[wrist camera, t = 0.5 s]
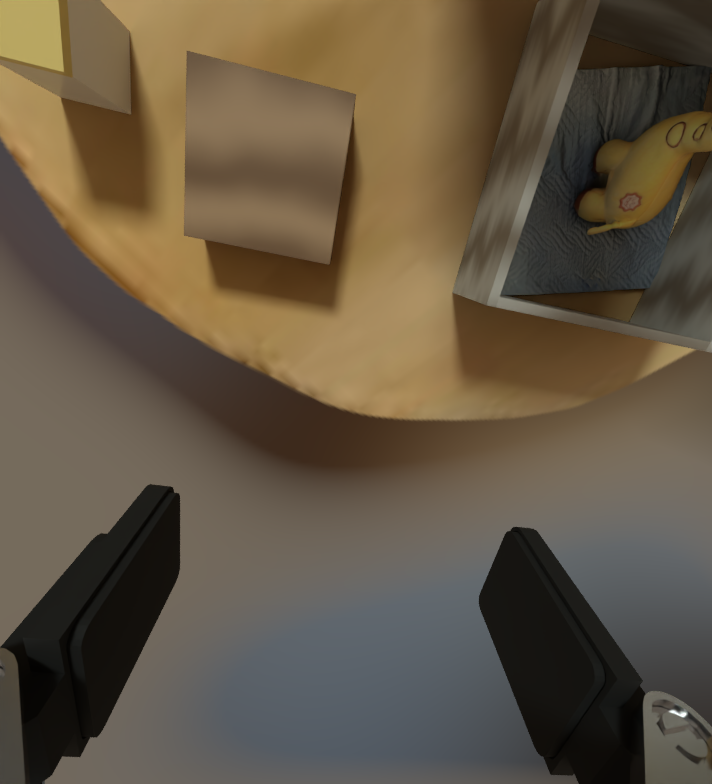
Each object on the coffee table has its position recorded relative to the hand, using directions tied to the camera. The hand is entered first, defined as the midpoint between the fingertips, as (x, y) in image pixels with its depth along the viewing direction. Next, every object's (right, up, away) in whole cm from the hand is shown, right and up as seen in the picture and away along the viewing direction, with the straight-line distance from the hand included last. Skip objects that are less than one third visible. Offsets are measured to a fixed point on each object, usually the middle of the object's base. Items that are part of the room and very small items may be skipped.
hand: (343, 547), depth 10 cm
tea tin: (-21, +31, +18) cm, 41 cm away
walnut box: (-7, +24, +22) cm, 33 cm away
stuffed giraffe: (+22, +23, +23) cm, 40 cm away
